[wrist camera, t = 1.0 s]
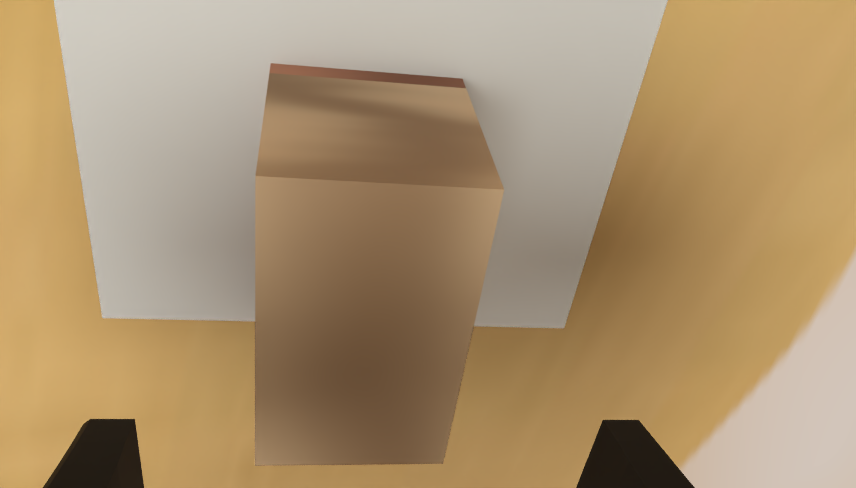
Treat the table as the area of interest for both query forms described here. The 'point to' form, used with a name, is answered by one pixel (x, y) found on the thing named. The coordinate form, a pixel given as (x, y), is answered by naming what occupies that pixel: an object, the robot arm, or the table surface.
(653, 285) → the table surface
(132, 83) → the board
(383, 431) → the block
